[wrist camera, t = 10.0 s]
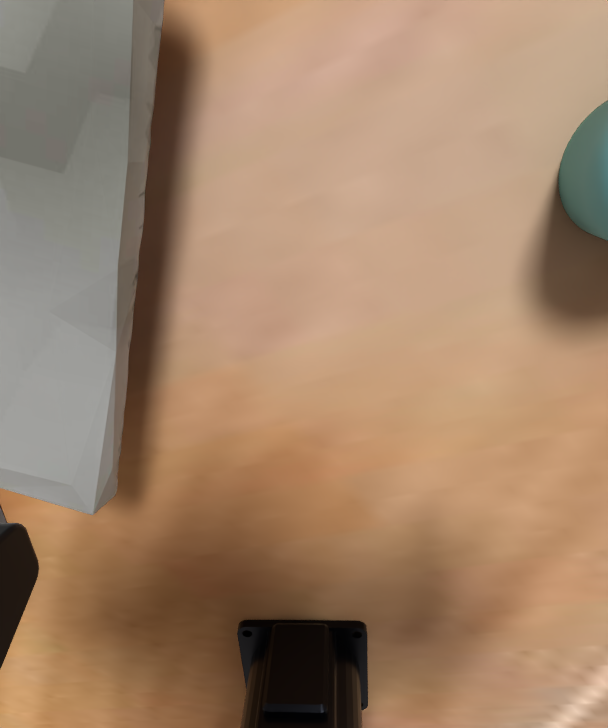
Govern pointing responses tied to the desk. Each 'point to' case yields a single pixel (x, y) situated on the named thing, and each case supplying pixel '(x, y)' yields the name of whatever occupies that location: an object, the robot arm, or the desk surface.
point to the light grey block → (70, 236)
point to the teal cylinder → (587, 174)
